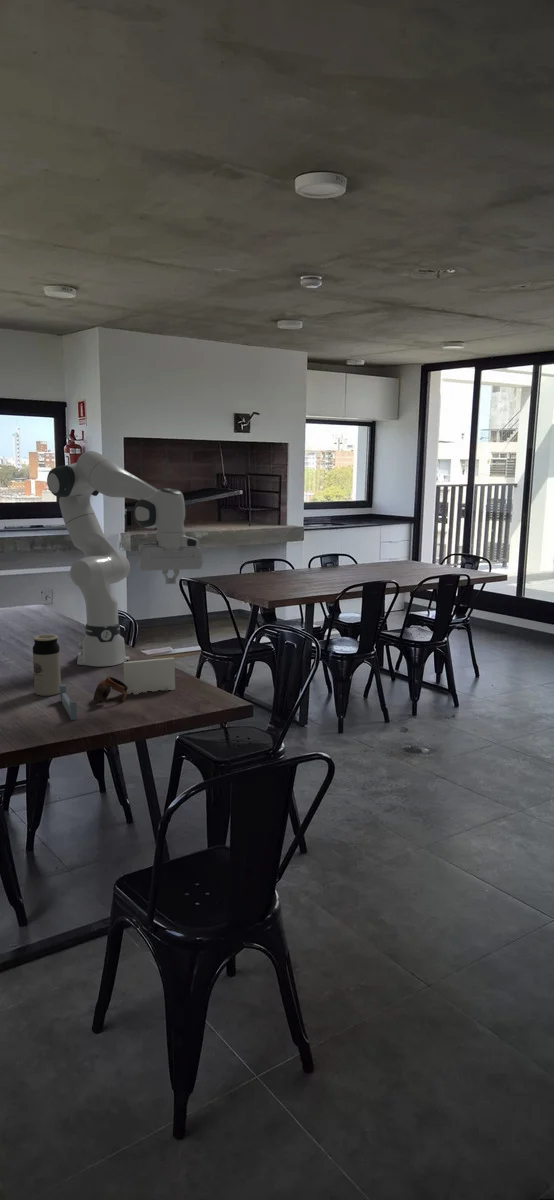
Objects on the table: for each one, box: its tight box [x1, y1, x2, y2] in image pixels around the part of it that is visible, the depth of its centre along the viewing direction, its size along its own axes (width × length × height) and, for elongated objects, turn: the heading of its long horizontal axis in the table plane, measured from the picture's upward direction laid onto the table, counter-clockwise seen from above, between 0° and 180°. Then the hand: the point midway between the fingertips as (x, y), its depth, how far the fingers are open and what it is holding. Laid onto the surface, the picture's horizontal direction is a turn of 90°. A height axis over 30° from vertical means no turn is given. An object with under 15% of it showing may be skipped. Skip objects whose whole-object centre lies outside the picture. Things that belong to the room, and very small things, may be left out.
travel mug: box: [32, 633, 62, 697], centre depth 250 cm, size 8×8×18 cm
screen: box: [123, 656, 176, 695], centre depth 254 cm, size 4×16×10 cm, turn 113°
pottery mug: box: [92, 676, 128, 704], centre depth 243 cm, size 12×10×8 cm
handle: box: [59, 683, 78, 721], centre depth 235 cm, size 20×2×5 cm, turn 24°
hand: (170, 583), depth 256 cm, fingers closed
